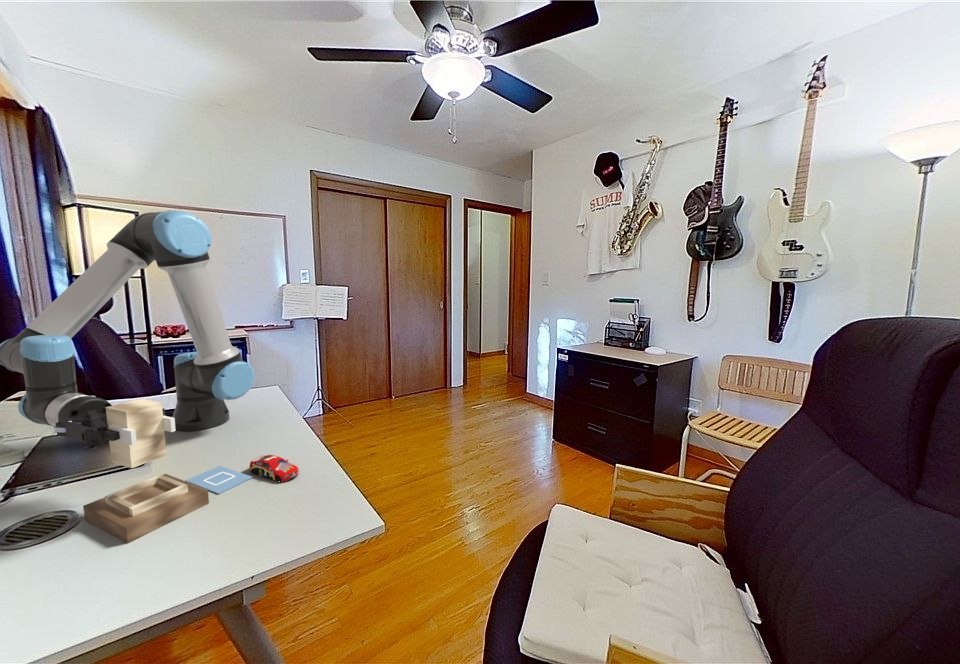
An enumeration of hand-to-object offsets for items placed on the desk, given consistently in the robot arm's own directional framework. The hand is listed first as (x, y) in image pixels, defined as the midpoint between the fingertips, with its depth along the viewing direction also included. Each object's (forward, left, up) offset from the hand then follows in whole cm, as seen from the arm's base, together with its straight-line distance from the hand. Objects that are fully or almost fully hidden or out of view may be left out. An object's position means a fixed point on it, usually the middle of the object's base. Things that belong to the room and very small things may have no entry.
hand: (154, 431), depth 75 cm
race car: (-22, +4, -18) cm, 29 cm away
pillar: (0, -5, -7) cm, 8 cm away
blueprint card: (-14, -5, -18) cm, 23 cm away
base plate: (0, -5, -18) cm, 19 cm away
